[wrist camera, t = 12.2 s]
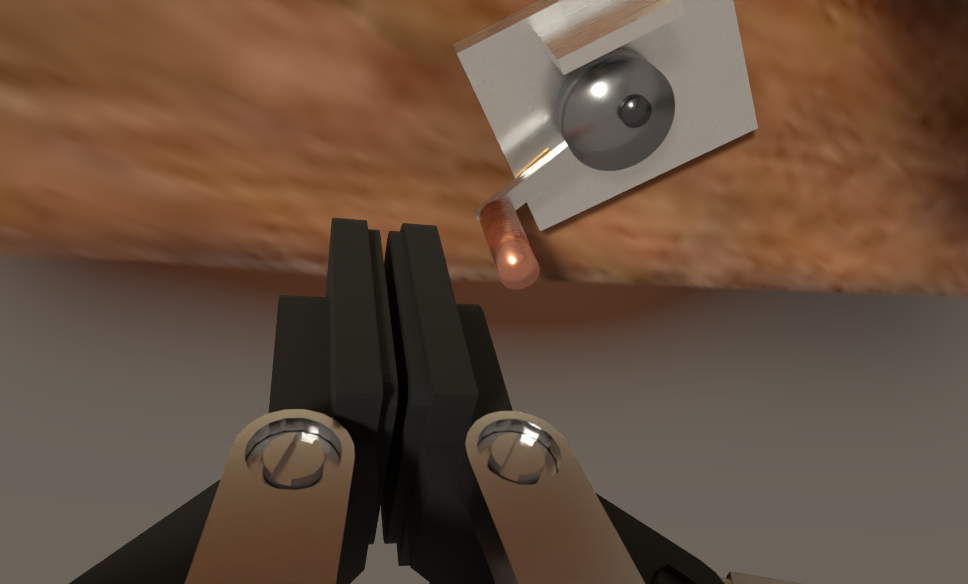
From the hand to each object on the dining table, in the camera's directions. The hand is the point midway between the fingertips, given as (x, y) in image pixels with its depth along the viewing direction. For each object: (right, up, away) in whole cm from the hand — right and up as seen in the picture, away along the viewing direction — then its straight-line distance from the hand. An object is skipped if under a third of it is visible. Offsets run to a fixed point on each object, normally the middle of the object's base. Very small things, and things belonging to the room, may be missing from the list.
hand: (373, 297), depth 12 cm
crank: (+6, +8, +27) cm, 29 cm away
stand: (+9, +12, +28) cm, 31 cm away
